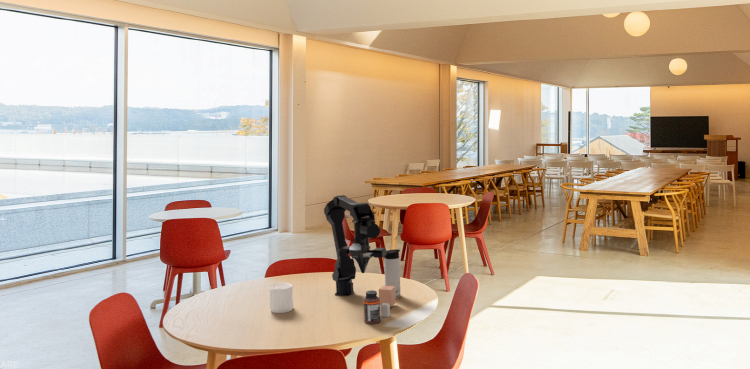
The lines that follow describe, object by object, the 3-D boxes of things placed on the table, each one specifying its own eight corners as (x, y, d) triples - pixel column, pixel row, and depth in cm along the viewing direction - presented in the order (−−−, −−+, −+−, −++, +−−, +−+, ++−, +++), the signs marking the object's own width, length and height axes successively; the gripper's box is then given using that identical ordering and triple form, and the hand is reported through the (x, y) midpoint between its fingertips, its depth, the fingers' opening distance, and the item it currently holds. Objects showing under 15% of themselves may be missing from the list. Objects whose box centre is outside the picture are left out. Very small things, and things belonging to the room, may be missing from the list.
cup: (274, 315, 225) (272, 290, 224) (266, 308, 233) (265, 284, 232) (297, 310, 229) (296, 286, 228) (288, 304, 238) (287, 281, 237)
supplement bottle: (363, 319, 216) (362, 289, 215) (379, 318, 216) (378, 288, 215) (364, 324, 210) (363, 294, 209) (381, 323, 210) (380, 293, 209)
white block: (381, 316, 218) (380, 305, 218) (383, 314, 221) (383, 303, 220) (387, 317, 217) (387, 305, 217) (390, 315, 220) (389, 303, 219)
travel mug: (400, 299, 239) (398, 251, 237) (384, 298, 241) (382, 251, 238) (402, 294, 245) (400, 248, 243) (387, 294, 247) (385, 248, 245)
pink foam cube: (379, 305, 228) (378, 289, 228) (383, 301, 233) (383, 285, 233) (391, 306, 227) (391, 290, 226) (395, 302, 231) (395, 286, 231)
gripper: (331, 237, 227) (333, 276, 228) (376, 239, 220) (378, 279, 222) (343, 232, 237) (344, 269, 238) (386, 233, 230) (387, 272, 232)
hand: (363, 273), depth 232 cm, fingers closed
